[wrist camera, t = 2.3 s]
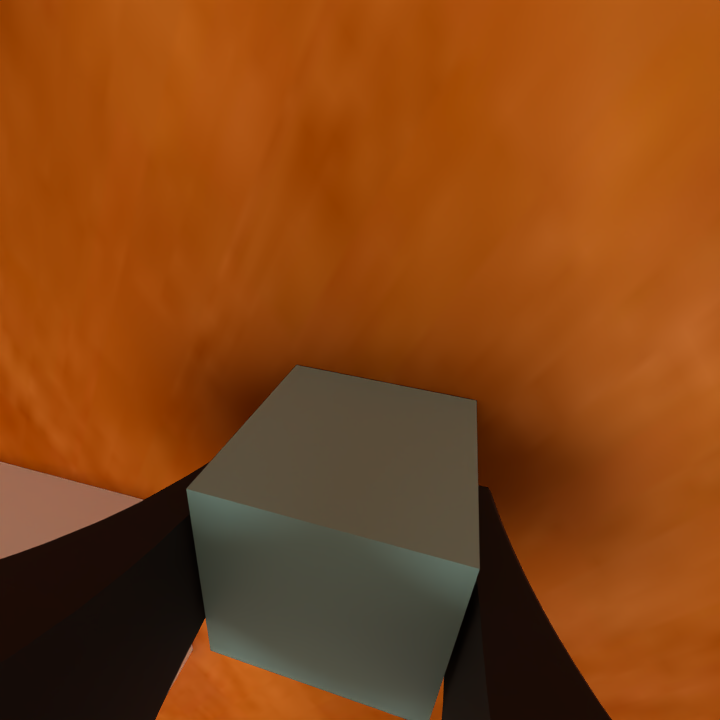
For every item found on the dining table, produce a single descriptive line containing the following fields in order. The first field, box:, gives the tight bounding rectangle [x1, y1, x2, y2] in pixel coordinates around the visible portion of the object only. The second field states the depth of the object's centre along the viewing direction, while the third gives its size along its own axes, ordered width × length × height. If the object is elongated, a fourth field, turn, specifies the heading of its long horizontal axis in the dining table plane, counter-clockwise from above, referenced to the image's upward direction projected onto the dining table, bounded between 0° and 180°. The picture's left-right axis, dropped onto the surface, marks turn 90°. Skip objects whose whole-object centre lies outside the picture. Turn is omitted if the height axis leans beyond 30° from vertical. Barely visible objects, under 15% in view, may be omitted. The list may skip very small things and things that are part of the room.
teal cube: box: [186, 365, 480, 720], centre depth 10 cm, size 5×5×5 cm
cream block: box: [0, 462, 193, 694], centre depth 17 cm, size 10×10×4 cm
